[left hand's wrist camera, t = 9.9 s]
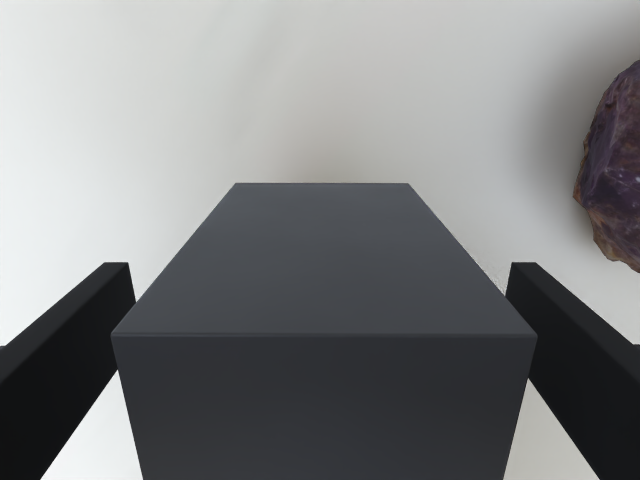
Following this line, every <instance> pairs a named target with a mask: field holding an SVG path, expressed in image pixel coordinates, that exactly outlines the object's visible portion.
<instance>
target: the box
mask: <svg viewBox="0 0 640 480" xmlns="http://www.w3.org/2000/svg"><path fill="white" fill-rule="evenodd" d="M110 337H111V341H112V345H113V350H114V354H115V358H116V363H117V367H118V372H119V376H120V380H121V385H122V389H123V393H124V398H125V402H126V406H127V411H128V415H129V420H130V424H131V428H132V433H133V437H134V441H135V446H136V450H137V455H138V459H139V463H140V468H141V472H142V476H143V480H503V477H504V473H505V469H506V465H507V461H508V457H509V453H510V449H511V445H512V441H513V437H514V432H515V428H516V424H517V420H518V416H519V412H520V408H521V404H522V400H523V396H524V391H525V387H526V383H527V379H528V375H529V371H530V367H531V363H532V359H533V355H534V351H535V346H536V342H537V338H538V337H537V334H536V333H535V331H534V330H533V329H532V328H531V327H530V325H529V324H528V323H527V322H526V321H525V320H524V318H523V317H522V316H521V315H520V314H519V313H518V311H517V310H516V309H515V308H514V307H513V306H512V304H511V303H510V302H509V301H508V300H507V299H506V297H505V296H504V295H503V294H502V293H501V291H500V290H499V289H498V288H497V287H496V286H495V284H494V283H493V282H492V281H491V280H490V279H489V277H488V276H487V275H486V274H485V273H484V272H483V270H482V269H481V268H480V267H479V266H478V265H477V263H476V262H475V261H474V260H473V259H472V257H471V256H470V255H469V254H468V253H467V252H466V250H465V249H464V248H463V247H462V246H461V245H460V243H459V242H458V241H457V240H456V239H455V238H454V236H453V235H452V234H451V233H450V232H449V231H448V229H447V228H446V227H445V226H444V225H443V223H442V222H441V221H440V220H439V219H438V218H437V216H436V215H435V214H434V213H433V212H432V211H431V209H430V208H429V207H428V206H427V205H426V204H425V202H424V201H423V200H422V199H421V198H420V197H419V195H418V194H417V193H416V192H415V191H414V189H413V188H412V187H411V186H410V185H409V184H408V183H235V184H234V186H233V187H232V188H231V189H230V190H229V192H228V193H227V194H226V195H225V196H224V198H223V199H222V200H221V201H220V202H219V204H218V205H217V206H216V207H215V208H214V210H213V211H212V212H211V213H210V214H209V216H208V217H207V218H206V219H205V220H204V222H203V223H202V224H201V225H200V227H199V228H198V229H197V230H196V231H195V233H194V234H193V235H192V236H191V237H190V239H189V240H188V241H187V242H186V243H185V245H184V246H183V247H182V248H181V249H180V251H179V252H178V253H177V254H176V255H175V257H174V258H173V259H172V260H171V261H170V263H169V264H168V265H167V266H166V267H165V269H164V270H163V271H162V272H161V274H160V275H159V276H158V277H157V278H156V280H155V281H154V282H153V283H152V284H151V286H150V287H149V288H148V289H147V290H146V292H145V293H144V294H143V295H142V296H141V298H140V299H139V300H138V301H137V302H136V304H135V305H134V306H133V307H132V308H131V310H130V311H129V312H128V313H127V314H126V316H125V317H124V318H123V319H122V320H121V322H120V323H119V324H118V325H117V327H116V328H115V329H114V330H113V331H112V333H111V336H110Z"/></svg>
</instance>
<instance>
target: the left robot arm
mask: <svg viewBox="0 0 640 480" xmlns="http://www.w3.org/2000/svg"><path fill="white" fill-rule="evenodd" d="M505 297H506V299H507V300H508V301H509V302H510V303H511V304H512V306H513V307H514V308H515V309H516V310H517V311H518V313H519V314H520V315H521V316H522V317H523V318H524V320H525V321H526V322H527V323H528V324H529V325H530V327H531V328H532V329H533V330H534V331H535V333H536V334H537V337H538V338H537V342H536V346H535V351H534V355H533V359H532V363H531V367H530V371H529V375H528V378H529V380H530V381H531V382H532V384H533V385H534V387H535V388H536V390H537V391H538V392H539V394H540V395H541V397H542V398H543V400H544V401H545V402H546V404H547V405H548V407H549V408H550V409H551V411H552V412H553V414H554V415H555V417H556V418H557V419H558V421H559V422H560V424H561V425H562V427H563V428H564V429H565V431H566V432H567V434H568V435H569V437H570V438H571V439H572V441H573V442H574V444H575V445H576V447H577V448H578V449H579V451H580V452H581V454H582V455H583V457H584V458H585V459H586V461H587V462H588V464H589V465H590V467H591V468H592V469H593V471H594V472H595V474H596V475H597V476H598V478H599V479H600V480H640V345H639V344H632V343H631V342H629V341H628V340H627V339H626V338H625V337H624V336H622V335H621V334H620V333H619V332H618V331H616V330H615V329H614V328H613V327H612V326H610V325H609V324H608V323H607V322H606V321H605V320H603V319H602V318H601V317H600V316H599V315H597V314H596V313H595V312H594V311H593V310H591V309H590V308H589V307H588V306H587V305H586V304H584V303H583V302H582V301H581V300H580V299H578V298H577V297H576V296H575V295H574V294H572V293H571V292H570V291H569V290H568V289H567V288H565V287H564V286H563V285H562V284H561V283H559V282H558V281H557V280H556V279H555V278H553V277H552V276H551V275H550V274H549V273H548V272H546V271H545V270H544V269H543V268H542V267H540V266H539V265H538V264H537V263H536V262H512V264H511V269H510V274H509V279H508V285H507V290H506V295H505ZM135 304H136V300H135V295H134V290H133V285H132V279H131V274H130V269H129V264H128V262H104V263H103V264H102V265H101V266H100V267H98V268H97V269H96V270H95V271H94V272H92V273H91V274H90V275H89V276H88V277H87V278H85V279H84V280H83V281H82V282H81V283H79V284H78V285H77V286H76V287H75V288H73V289H72V290H71V291H70V292H69V293H68V294H66V295H65V296H64V297H63V298H62V299H60V300H59V301H58V302H57V303H56V304H54V305H53V306H52V307H51V308H50V309H49V310H47V311H46V312H45V313H44V314H43V315H41V316H40V317H39V318H38V319H37V320H35V321H34V322H33V323H32V324H31V325H30V326H28V327H27V328H26V329H25V330H24V331H22V332H21V333H20V334H19V335H18V336H16V337H15V338H14V339H13V340H12V341H11V342H9V343H8V344H7V345H6V346H0V480H40V479H41V478H42V476H43V475H44V474H45V472H46V471H47V469H48V468H49V466H50V465H51V464H52V462H53V461H54V459H55V458H56V457H57V455H58V454H59V452H60V451H61V449H62V448H63V447H64V445H65V444H66V442H67V441H68V439H69V438H70V437H71V435H72V434H73V432H74V431H75V429H76V428H77V427H78V425H79V424H80V422H81V421H82V419H83V418H84V417H85V415H86V414H87V412H88V411H89V409H90V408H91V407H92V405H93V404H94V402H95V401H96V399H97V398H98V397H99V395H100V394H101V392H102V391H103V390H104V388H105V387H106V385H107V384H108V382H109V381H110V380H111V378H112V377H113V375H114V374H115V372H116V371H117V370H118V367H117V363H116V358H115V354H114V350H113V345H112V341H111V337H110V336H111V333H112V331H113V330H114V329H115V328H116V327H117V325H118V324H119V323H120V322H121V320H122V319H123V318H124V317H125V316H126V314H127V313H128V312H129V311H130V310H131V308H132V307H133V306H134V305H135Z"/></svg>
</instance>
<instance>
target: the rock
mask: <svg viewBox="0 0 640 480" xmlns="http://www.w3.org/2000/svg"><path fill="white" fill-rule="evenodd" d="M583 143H584V149H585V157H584V158H583V160H582V162H581V169H580V172H579V175H578V177H577V181H576V184H575V187H574V192H573V197H574V198H575V199H576V200H577V201H578V202H579V203H580V204H581V205H582V206H583V207H584V208H585V209H586V210H587V211H588V213H589V216H590V219H591V222H592V225H593V230H594V241H595V242H596V244H597V245H598V247H599V248H600V250H601V251H602V253H603V254H604V256H606V258H607V259H609V260H611V261H619V260H620V261H622V262H624V263H626V264H627V265H628V266H629V267H630V268H631V269H632V270H634V271H636V272H638V273H640V60H638V61H636V62H634V63H633V64H632V65H631V66H630V67H629V68H628V69H626V70H625V71H623V72H622V73H620V74H619V75H618V76H617V77H616V78H615V80H614V81H613V83H612V84H611V85H610V87H609V88H608V89H607V90H606V91H605V93H604V95H603V97H602V99H601V101H600V103H599V105H598V107H597V109H596V113H595V116H594V119H593V122H592V125H591V127H590V132H588V134H587V136H586V138H585V139H584V141H583Z"/></svg>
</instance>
